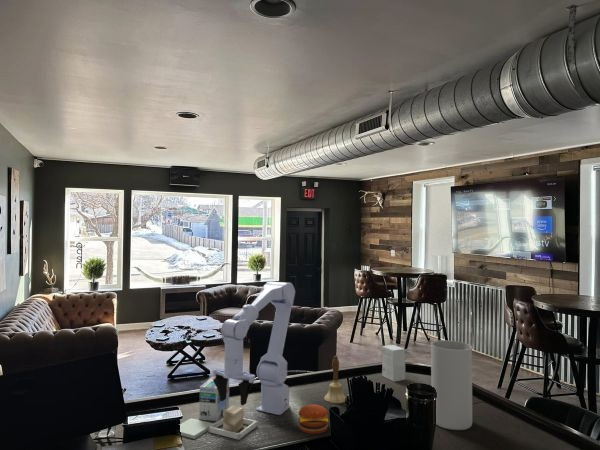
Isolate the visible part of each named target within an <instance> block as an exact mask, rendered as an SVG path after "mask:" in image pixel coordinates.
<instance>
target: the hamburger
mask: <svg viewBox="0 0 600 450" xmlns="http://www.w3.org/2000/svg"><path fill="white" fill-rule="evenodd" d="M328 415H329V411H328V409H326V408H325V407H324V406H323V405H319V404H307V405H304V406H302V407H301V408H300V409H299V410H298V421H299V422H298V423H299V424H298V428H299V430H300V431H302V432H303V433H306V434H314V435H316V434H321V433H324V432H326V431H327V430H328V423H329V418H328Z"/></svg>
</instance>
